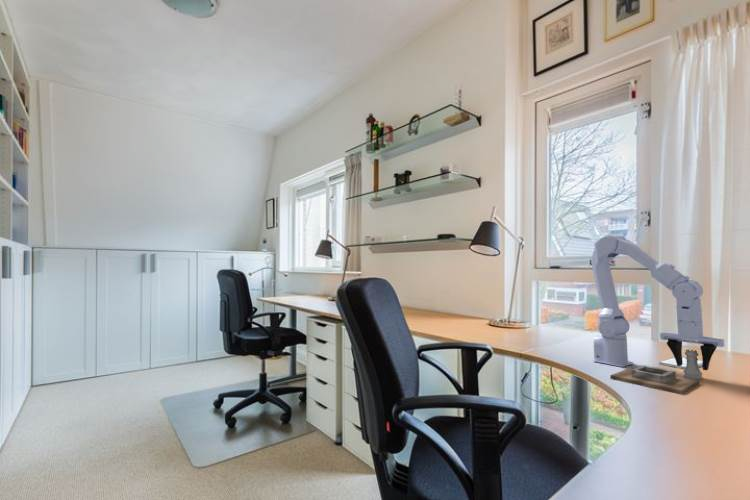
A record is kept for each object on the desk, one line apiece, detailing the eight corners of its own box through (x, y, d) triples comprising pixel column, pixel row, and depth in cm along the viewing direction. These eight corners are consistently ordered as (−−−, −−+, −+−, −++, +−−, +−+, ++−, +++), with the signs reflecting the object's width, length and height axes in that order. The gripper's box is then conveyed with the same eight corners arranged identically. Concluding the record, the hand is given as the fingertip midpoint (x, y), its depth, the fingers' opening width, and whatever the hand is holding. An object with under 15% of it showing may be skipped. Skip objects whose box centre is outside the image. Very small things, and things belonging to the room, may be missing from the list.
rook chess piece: (706, 380, 107) (705, 352, 107) (689, 379, 107) (687, 352, 108) (696, 375, 111) (695, 349, 111) (679, 375, 112) (678, 348, 112)
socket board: (610, 378, 110) (609, 368, 110) (631, 370, 118) (630, 361, 118) (681, 394, 96) (680, 382, 96) (699, 383, 104) (699, 372, 104)
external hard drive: (706, 366, 123) (688, 372, 117) (677, 361, 130) (658, 366, 124) (706, 361, 123) (688, 366, 117) (677, 356, 130) (658, 361, 124)
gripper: (655, 320, 114) (657, 364, 113) (717, 325, 102) (720, 375, 101) (664, 317, 118) (666, 360, 117) (725, 322, 106) (728, 370, 105)
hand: (692, 367), depth 109 cm, fingers open, 5 cm apart
